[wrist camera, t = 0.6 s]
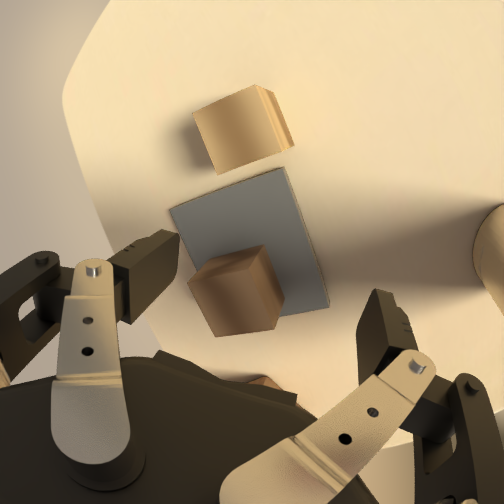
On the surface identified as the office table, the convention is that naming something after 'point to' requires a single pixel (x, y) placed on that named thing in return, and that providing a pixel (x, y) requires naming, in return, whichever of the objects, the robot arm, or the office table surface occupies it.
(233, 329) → the walnut block
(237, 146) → the oak block
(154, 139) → the office table surface
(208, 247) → the plate
